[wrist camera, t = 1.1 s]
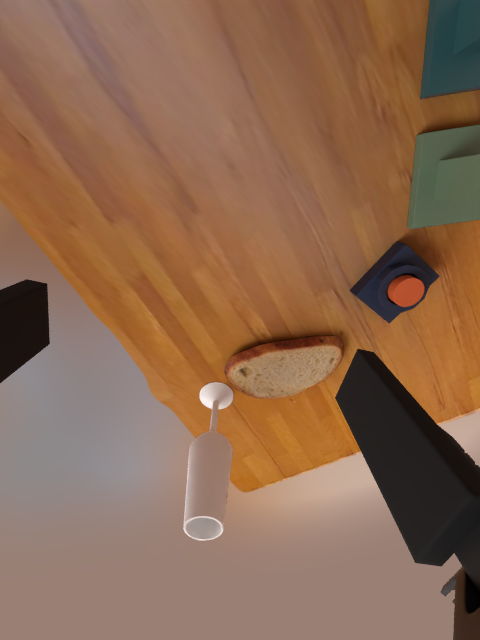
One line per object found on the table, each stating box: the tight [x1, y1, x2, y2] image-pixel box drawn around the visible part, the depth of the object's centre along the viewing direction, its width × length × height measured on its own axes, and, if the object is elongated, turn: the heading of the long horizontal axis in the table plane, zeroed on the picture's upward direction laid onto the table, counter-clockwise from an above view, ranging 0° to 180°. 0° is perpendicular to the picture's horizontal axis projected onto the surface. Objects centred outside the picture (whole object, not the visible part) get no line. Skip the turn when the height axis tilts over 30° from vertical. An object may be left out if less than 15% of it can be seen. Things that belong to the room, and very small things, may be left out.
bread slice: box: [225, 336, 344, 399], centre depth 50 cm, size 18×18×4 cm
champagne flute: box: [184, 382, 233, 540], centre depth 44 cm, size 7×7×24 cm
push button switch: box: [350, 242, 439, 323], centre depth 44 cm, size 10×8×4 cm
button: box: [387, 275, 424, 307], centre depth 42 cm, size 4×4×2 cm
